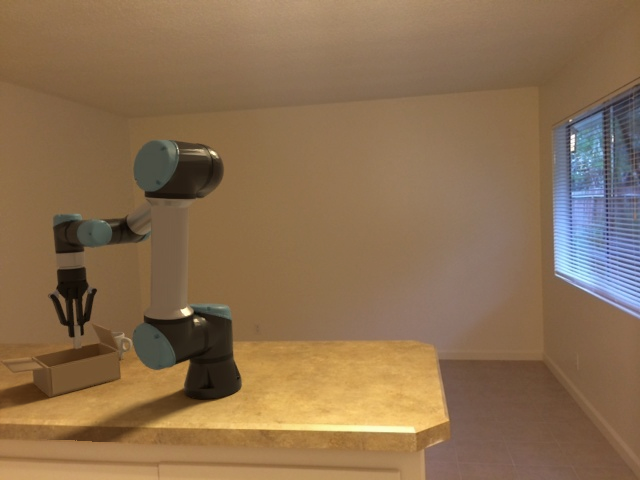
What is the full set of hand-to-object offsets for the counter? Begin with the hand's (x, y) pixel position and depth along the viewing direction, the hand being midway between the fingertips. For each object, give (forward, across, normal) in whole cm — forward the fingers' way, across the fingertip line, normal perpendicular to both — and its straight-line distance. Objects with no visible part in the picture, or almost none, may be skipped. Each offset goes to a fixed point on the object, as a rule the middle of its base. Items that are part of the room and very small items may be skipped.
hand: (77, 347), depth 144 cm
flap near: (+2, +11, 0) cm, 11 cm away
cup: (+10, -16, -14) cm, 24 cm away
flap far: (+2, -9, 0) cm, 10 cm away
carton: (+10, +1, 0) cm, 10 cm away
